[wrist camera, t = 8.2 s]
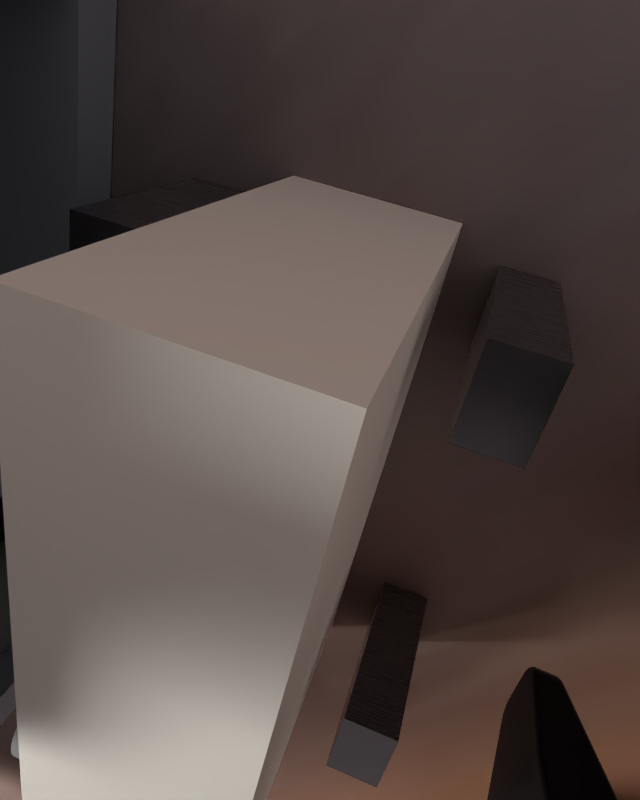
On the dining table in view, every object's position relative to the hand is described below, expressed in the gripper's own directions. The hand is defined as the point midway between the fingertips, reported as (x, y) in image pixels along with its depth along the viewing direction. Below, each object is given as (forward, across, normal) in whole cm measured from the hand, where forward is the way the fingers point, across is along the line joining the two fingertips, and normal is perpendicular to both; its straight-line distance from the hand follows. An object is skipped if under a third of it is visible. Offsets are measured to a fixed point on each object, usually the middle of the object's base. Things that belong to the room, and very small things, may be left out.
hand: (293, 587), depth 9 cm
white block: (+4, +1, 0) cm, 4 cm away
